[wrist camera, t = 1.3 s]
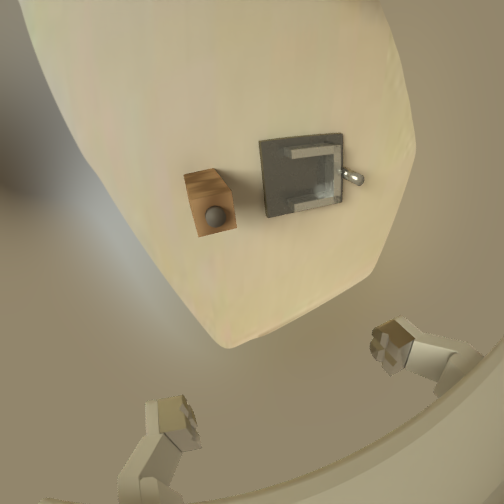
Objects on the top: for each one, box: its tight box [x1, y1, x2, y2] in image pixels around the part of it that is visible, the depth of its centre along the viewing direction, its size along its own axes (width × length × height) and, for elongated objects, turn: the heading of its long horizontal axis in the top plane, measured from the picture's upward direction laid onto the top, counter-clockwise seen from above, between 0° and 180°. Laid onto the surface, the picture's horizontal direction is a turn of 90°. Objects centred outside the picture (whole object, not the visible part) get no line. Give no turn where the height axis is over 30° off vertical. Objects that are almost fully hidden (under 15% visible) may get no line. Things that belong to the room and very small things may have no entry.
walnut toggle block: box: [184, 168, 237, 237], centre depth 38 cm, size 5×5×14 cm
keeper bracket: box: [259, 133, 364, 218], centre depth 45 cm, size 16×14×8 cm
